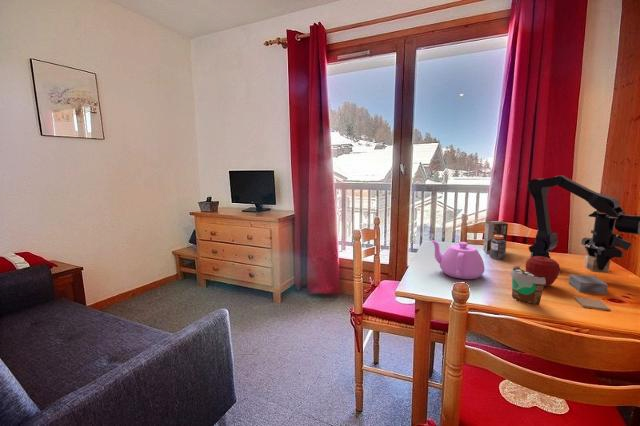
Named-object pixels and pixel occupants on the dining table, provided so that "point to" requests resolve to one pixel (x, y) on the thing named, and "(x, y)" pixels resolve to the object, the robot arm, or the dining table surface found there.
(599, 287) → the grey flat block
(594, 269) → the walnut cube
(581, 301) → the tile
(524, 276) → the food container
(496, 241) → the pill bottle
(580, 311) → the dining table surface
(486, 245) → the coffee box
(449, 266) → the pink pot
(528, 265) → the apple
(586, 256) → the pale pink cube
